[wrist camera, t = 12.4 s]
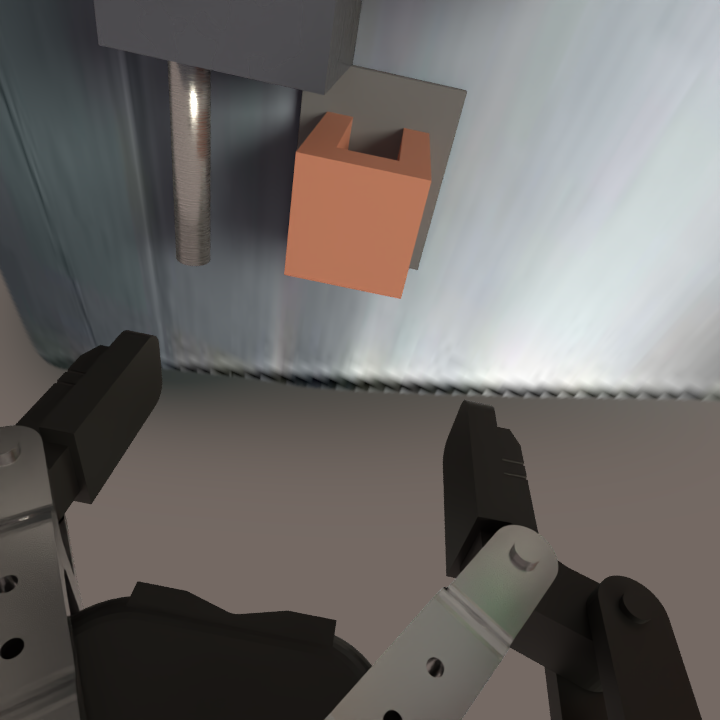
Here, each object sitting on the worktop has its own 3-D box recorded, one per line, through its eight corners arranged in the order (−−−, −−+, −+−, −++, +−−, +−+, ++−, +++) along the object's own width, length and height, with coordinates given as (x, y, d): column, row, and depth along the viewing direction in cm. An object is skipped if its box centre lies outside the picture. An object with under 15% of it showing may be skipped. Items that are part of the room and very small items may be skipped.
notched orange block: (429, 133, 29) (431, 180, 22) (405, 230, 33) (400, 298, 25) (327, 111, 29) (295, 152, 22) (315, 211, 32) (284, 274, 25)
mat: (466, 90, 28) (466, 92, 28) (417, 266, 35) (417, 269, 34) (308, 55, 28) (306, 56, 27) (289, 238, 34) (287, 242, 34)
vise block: (189, -118, 24) (12, -200, 14) (373, -76, 24) (336, -125, 14) (195, 225, 35) (98, 327, 24) (324, 252, 35) (281, 365, 24)
